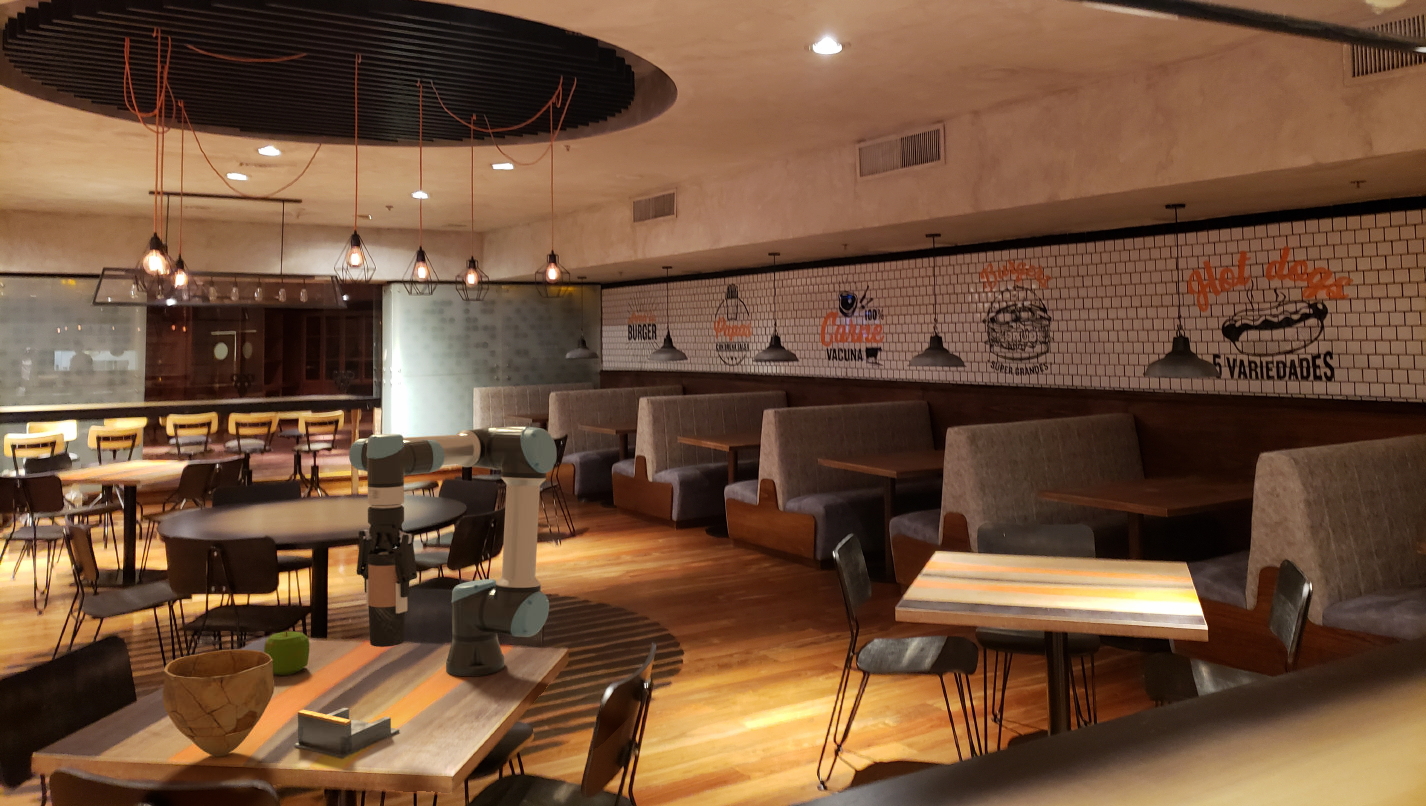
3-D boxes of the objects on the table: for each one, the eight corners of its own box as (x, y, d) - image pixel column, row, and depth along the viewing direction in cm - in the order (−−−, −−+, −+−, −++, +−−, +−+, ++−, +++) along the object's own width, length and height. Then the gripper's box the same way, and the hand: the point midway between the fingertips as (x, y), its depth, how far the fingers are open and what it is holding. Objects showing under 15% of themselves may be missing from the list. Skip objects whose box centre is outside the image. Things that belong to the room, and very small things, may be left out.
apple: (318, 669, 259) (317, 628, 259) (281, 680, 250) (280, 638, 250) (292, 662, 265) (292, 622, 265) (256, 673, 256) (255, 632, 256)
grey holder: (353, 721, 221) (352, 690, 221) (399, 732, 215) (398, 700, 215) (294, 746, 207) (293, 713, 207) (342, 758, 201) (341, 724, 200)
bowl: (219, 732, 215) (217, 642, 214) (296, 742, 209) (294, 650, 209) (139, 769, 195) (136, 671, 195) (221, 782, 190) (219, 680, 189)
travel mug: (412, 639, 215) (412, 549, 214) (391, 648, 208) (390, 555, 207) (383, 636, 217) (382, 547, 217) (361, 645, 210) (360, 553, 209)
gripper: (337, 504, 213) (338, 608, 213) (410, 510, 204) (411, 618, 205) (363, 500, 219) (364, 601, 220) (434, 506, 211) (435, 611, 212)
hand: (386, 609), depth 212 cm, fingers closed on travel mug, 8 cm apart
